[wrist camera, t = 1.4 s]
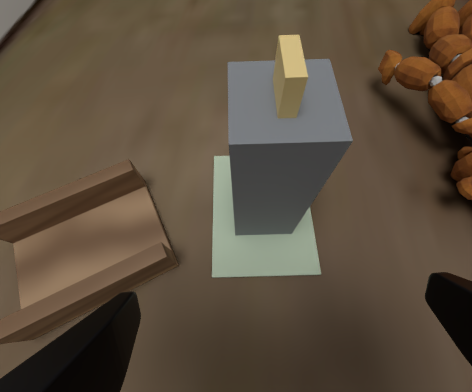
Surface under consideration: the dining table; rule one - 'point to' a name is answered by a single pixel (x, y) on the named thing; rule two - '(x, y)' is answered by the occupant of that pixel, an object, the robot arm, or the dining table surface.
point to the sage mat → (256, 240)
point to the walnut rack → (82, 248)
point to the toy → (442, 62)
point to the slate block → (282, 137)
